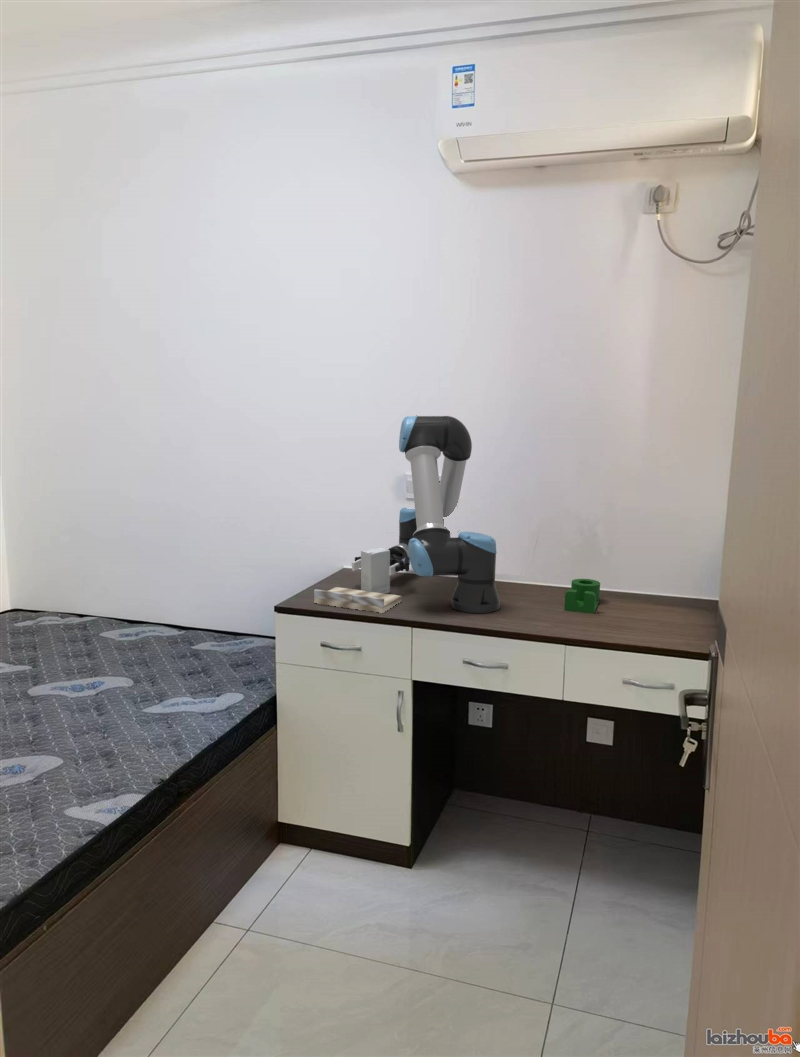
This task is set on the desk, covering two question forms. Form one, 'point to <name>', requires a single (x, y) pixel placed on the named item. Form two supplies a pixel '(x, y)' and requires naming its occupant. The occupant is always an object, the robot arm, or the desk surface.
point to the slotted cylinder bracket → (582, 596)
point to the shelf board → (356, 599)
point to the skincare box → (375, 570)
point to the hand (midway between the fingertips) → (371, 569)
